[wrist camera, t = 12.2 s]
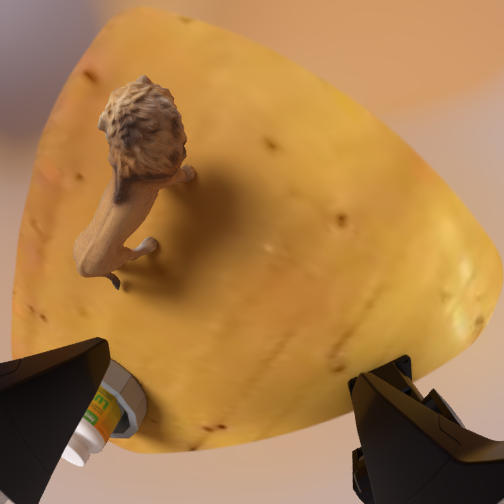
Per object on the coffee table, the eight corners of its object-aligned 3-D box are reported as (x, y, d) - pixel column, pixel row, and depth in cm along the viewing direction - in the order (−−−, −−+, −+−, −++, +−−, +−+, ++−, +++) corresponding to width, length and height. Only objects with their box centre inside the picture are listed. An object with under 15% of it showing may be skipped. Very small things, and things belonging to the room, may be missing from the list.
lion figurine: (159, 106, 18) (100, 59, 9) (220, 128, 18) (190, 78, 9) (97, 273, 21) (28, 312, 12) (149, 302, 21) (93, 359, 12)
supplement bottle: (126, 381, 22) (82, 449, 13) (131, 416, 23) (97, 479, 14) (82, 365, 22) (32, 420, 13) (90, 400, 23) (51, 454, 14)
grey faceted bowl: (163, 417, 24) (154, 437, 20) (103, 420, 24) (93, 437, 21) (114, 344, 22) (98, 362, 19) (59, 358, 23) (43, 372, 20)
